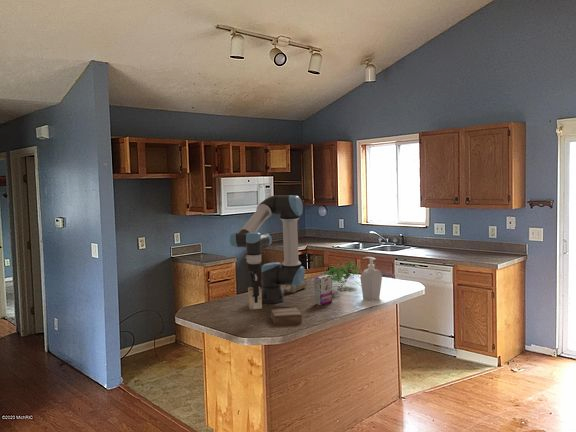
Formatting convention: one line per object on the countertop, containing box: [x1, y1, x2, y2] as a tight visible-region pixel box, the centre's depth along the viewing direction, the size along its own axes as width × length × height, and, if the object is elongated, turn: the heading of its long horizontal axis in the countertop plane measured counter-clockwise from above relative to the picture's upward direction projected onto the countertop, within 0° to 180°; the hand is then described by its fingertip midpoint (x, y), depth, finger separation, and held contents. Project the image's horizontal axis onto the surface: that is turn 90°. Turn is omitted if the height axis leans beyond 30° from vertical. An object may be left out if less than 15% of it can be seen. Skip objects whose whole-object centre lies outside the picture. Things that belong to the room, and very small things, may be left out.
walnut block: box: [270, 307, 303, 326], centre depth 270 cm, size 14×14×5 cm
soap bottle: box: [359, 256, 383, 301], centre depth 314 cm, size 12×10×26 cm
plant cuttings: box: [323, 260, 361, 293], centre depth 340 cm, size 35×17×22 cm
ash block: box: [247, 286, 263, 310], centre depth 263 cm, size 6×6×10 cm
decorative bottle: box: [282, 279, 307, 294], centre depth 337 cm, size 26×8×7 cm, turn 151°
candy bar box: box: [314, 274, 333, 306], centre depth 304 cm, size 11×5×16 cm, turn 137°
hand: (255, 306), depth 263 cm, fingers closed on ash block, 6 cm apart
